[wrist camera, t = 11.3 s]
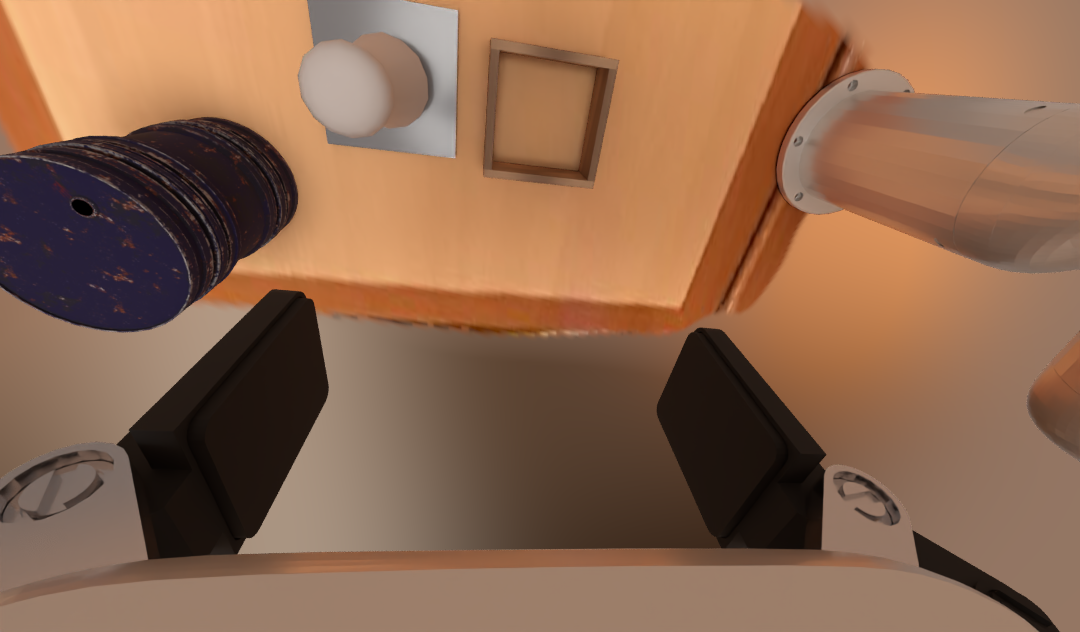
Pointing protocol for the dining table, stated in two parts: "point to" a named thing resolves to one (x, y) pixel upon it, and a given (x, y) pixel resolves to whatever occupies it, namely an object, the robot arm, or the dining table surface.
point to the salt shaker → (363, 84)
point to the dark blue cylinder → (137, 219)
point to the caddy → (594, 125)
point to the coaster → (432, 34)
